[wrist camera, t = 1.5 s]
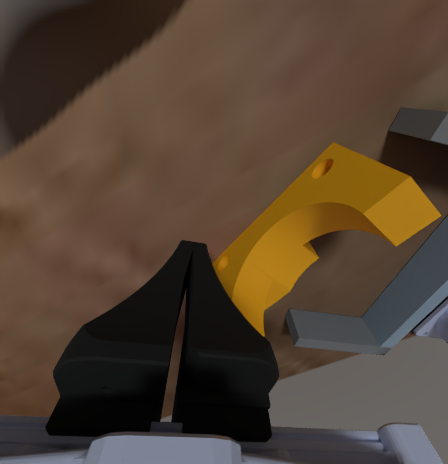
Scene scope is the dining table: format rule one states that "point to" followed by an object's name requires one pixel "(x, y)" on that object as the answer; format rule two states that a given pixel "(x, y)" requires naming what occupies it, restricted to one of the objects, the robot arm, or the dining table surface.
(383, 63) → the dining table surface
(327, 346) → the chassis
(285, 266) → the pipe clamp
